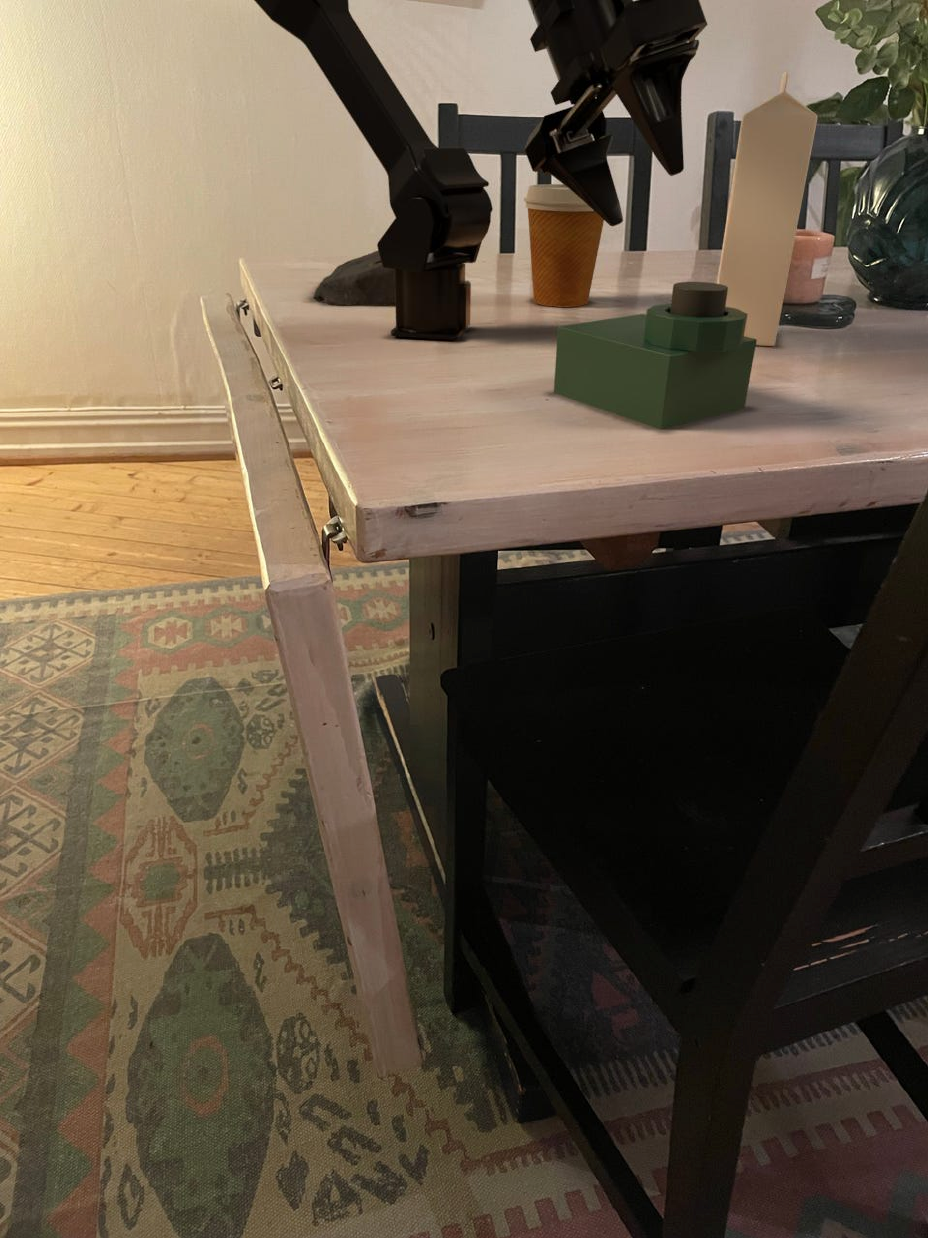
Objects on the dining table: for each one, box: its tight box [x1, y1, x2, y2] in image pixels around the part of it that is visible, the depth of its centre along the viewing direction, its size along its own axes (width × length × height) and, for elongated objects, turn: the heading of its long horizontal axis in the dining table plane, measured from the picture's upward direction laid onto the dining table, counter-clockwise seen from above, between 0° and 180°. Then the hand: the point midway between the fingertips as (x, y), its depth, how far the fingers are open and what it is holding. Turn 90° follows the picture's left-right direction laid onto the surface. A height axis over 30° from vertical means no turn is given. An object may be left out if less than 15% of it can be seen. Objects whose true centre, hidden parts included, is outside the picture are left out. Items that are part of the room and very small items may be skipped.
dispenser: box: [553, 302, 757, 431], centre depth 62 cm, size 12×9×7 cm
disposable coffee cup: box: [523, 183, 605, 308], centre depth 97 cm, size 10×10×12 cm
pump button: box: [670, 281, 728, 318], centre depth 58 cm, size 4×4×2 cm
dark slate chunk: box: [312, 250, 395, 306], centre depth 105 cm, size 15×22×5 cm
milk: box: [716, 69, 818, 347], centre depth 79 cm, size 6×6×22 cm
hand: (645, 200), depth 67 cm, fingers open, 9 cm apart
